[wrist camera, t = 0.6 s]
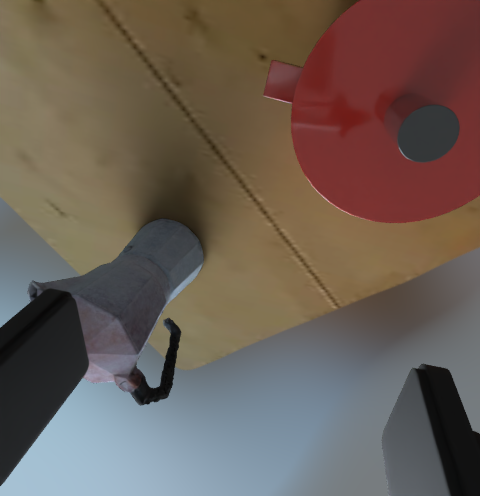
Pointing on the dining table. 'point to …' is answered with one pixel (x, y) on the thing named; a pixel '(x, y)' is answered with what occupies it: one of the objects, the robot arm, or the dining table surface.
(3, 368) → the robot arm
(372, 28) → the lid
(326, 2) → the dining table surface
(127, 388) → the moka pot
